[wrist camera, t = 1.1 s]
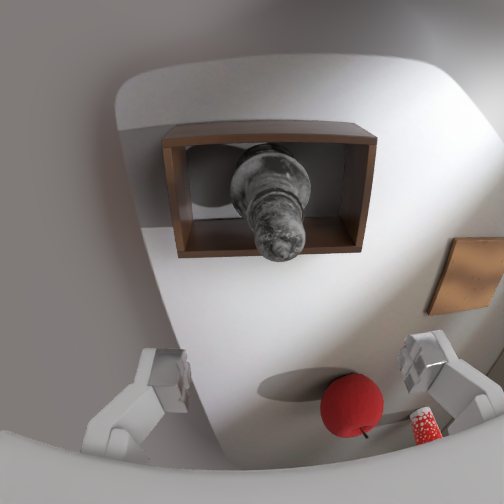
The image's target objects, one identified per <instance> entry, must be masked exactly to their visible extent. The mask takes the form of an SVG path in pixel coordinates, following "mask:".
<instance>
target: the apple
mask: <svg viewBox="0 0 504 504" xmlns="http://www.w3.org/2000/svg"><path fill="white" fill-rule="evenodd" d="M383 404H384V401H383V396H382V393H381V391H380V389H379V388H378V386H377V385H376V384H375V383H374V382H373V381H372V380H371V379H370V378H368V377H366V376H364V375H362V374H349V375H346V376H344V377H341V378H339V379H337V380H334V381H333V382H332V383H331V384H330V386H329V387H328V388H327V389H326V391H325V392H324V394H323V397H322V399H321V405H320V411H321V417H322V420H323V423H324V425H325V426H326V428H327V429H328V430H329V431H330V432H331V433H332V434H334V435H336V436H338V437H343V438H349V437H355V436H358V435H361V434H364V436H365V438H366V439H367V438H368V436H367V435H366V434H365V433H366V432H368V431H370V430H371V429H373V428H374V427H375V426H376V425H377V424H378V422H379V421H380V419H381V417H382V413H383Z"/></svg>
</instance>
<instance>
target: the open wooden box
mask: <svg viewBox="0 0 504 504" xmlns="http://www.w3.org/2000/svg"><path fill="white" fill-rule="evenodd" d="M254 142H316V143H344V144H346V157H345V169H344V179H343V189H342V199H341V208H340V217H304V219H303V222H302V224H303V227H304V231H305V244H304V247H303V249H302V251H301V252H300V253H299V254H330V253H359V252H361V250H362V245H363V239H364V234H365V228H366V222H367V216H368V209H369V203H370V196H371V189H372V181H373V174H374V166H375V157H376V148H377V146H376V145H377V137H376V136H374V135H373V134H371V133H369V132H368V131H366V130H365V129H363V128H361V127H360V126H358V125H356V124H355V123H345V122H326V121H290V120H266V121H230V122H211V123H196V124H184V125H176V126H175V127H174V128H173V129H172V130H171V131H170V132H169V133H168V134H167V135H166V136H165V137H164V138H163V139H162V147H163V158H164V166H165V174H166V181H167V189H168V196H169V203H170V210H171V216H172V223H173V229H174V235H175V241H176V247H177V253H178V258H203V257H236V256H262V255H261V254H260V252H259V251H258V249H257V247H256V245H255V241H254V232H253V231H252V229H251V228H250V227H249V224H248V221H247V220H246V219H226V220H200V221H193V214H192V205H191V197H190V188H189V178H188V169H187V158H186V148H185V146H192V145H207V144H225V143H254ZM299 254H298V255H299Z"/></svg>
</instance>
